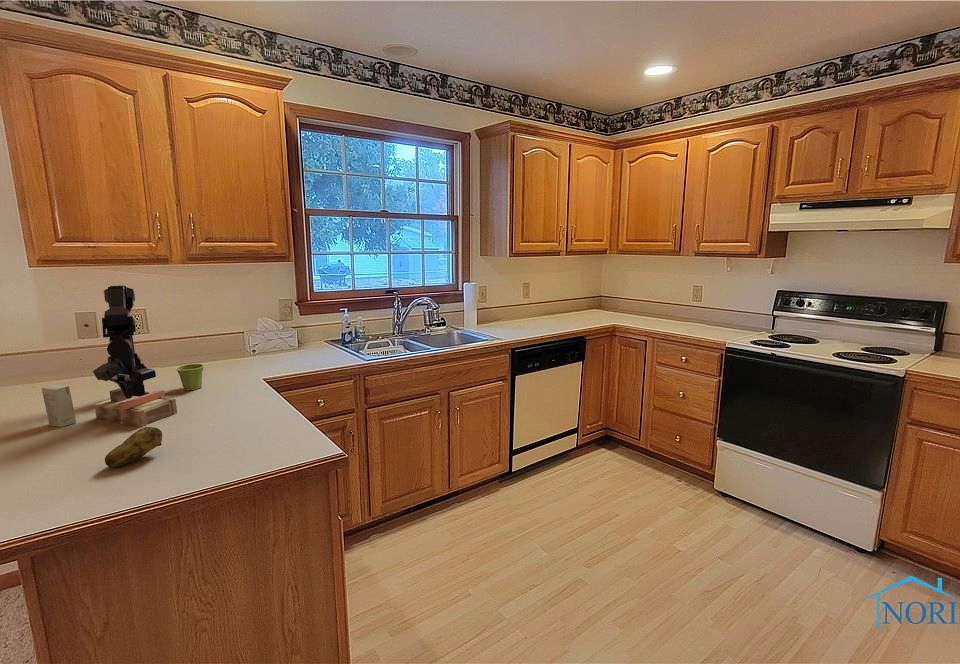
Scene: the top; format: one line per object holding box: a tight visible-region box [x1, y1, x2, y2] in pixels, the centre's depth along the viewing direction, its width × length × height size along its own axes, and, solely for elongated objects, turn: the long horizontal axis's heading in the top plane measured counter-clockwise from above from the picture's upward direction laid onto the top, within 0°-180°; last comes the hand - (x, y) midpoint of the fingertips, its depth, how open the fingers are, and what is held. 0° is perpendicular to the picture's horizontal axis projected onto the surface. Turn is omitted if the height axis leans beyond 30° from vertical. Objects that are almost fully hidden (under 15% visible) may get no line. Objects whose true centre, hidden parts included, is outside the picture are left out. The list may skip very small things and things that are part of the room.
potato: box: [104, 426, 163, 468], centre depth 124 cm, size 8×13×8 cm, turn 132°
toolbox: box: [94, 390, 178, 428], centre depth 155 cm, size 20×12×7 cm, turn 75°
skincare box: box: [41, 384, 77, 428], centre depth 148 cm, size 6×4×12 cm
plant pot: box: [175, 363, 205, 391], centre depth 184 cm, size 9×9×9 cm
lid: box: [95, 387, 170, 412], centre depth 154 cm, size 20×9×4 cm, turn 75°
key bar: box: [120, 389, 166, 410], centre depth 153 cm, size 2×14×2 cm, turn 165°
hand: (129, 398), depth 154 cm, fingers closed
